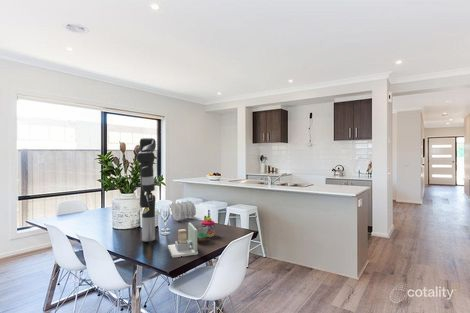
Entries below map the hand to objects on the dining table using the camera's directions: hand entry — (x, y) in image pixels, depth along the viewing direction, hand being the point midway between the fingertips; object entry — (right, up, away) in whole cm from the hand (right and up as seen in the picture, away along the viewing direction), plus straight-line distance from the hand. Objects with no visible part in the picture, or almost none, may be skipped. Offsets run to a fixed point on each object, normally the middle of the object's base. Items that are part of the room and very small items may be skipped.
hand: (150, 208), depth 173 cm
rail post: (+19, -28, +5) cm, 34 cm away
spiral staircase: (+4, -29, +93) cm, 97 cm away
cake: (+33, -29, +39) cm, 59 cm away
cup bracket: (+19, -29, +6) cm, 35 cm away
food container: (+30, -29, +25) cm, 49 cm away
